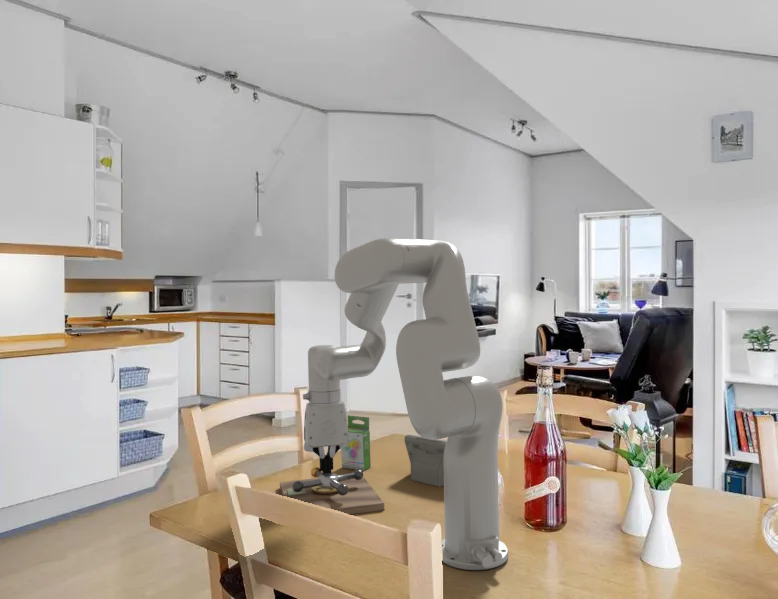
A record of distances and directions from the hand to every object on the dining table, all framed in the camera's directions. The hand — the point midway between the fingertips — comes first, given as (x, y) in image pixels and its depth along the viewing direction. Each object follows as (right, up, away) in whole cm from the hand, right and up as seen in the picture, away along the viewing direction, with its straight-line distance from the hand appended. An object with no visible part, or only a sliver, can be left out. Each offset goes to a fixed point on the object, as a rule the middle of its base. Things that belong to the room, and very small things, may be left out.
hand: (326, 473), depth 145 cm
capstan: (+1, -2, -8) cm, 8 cm away
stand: (+1, -4, -8) cm, 8 cm away
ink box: (+6, -3, +16) cm, 17 cm away
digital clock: (+26, -3, +5) cm, 27 cm away
